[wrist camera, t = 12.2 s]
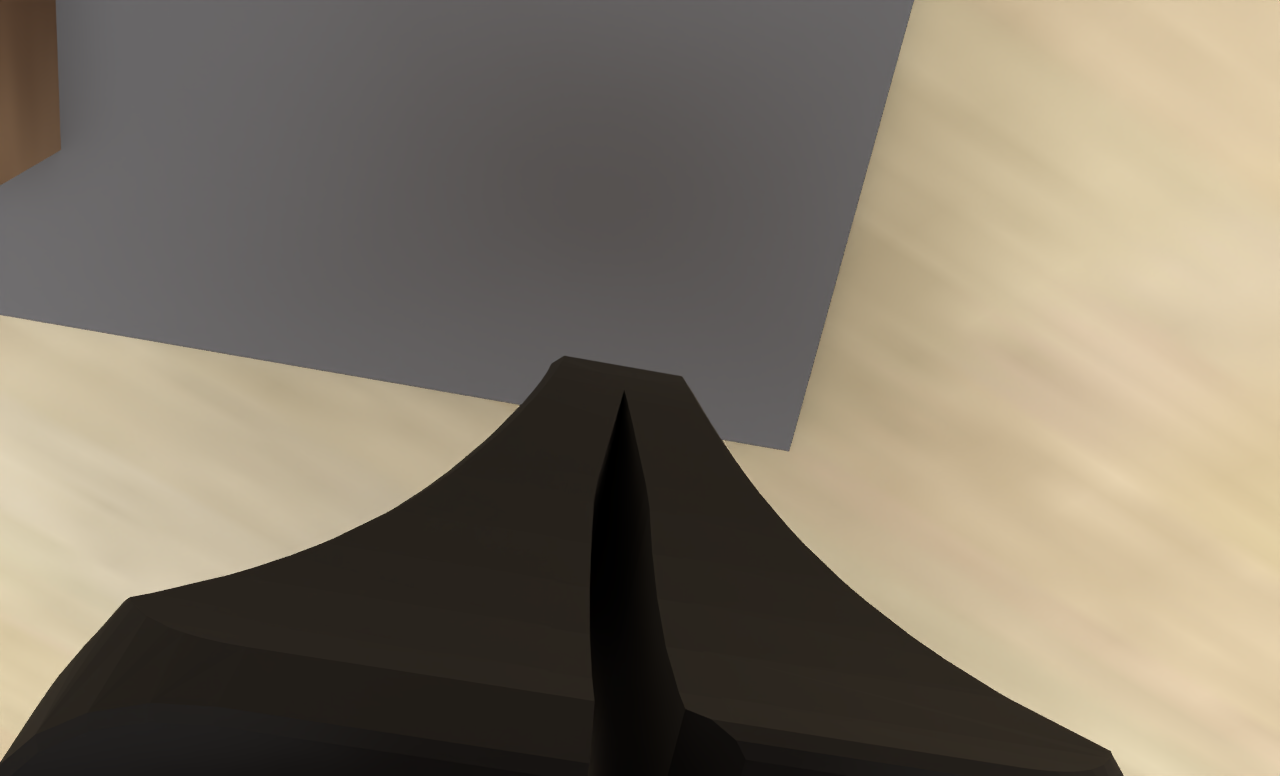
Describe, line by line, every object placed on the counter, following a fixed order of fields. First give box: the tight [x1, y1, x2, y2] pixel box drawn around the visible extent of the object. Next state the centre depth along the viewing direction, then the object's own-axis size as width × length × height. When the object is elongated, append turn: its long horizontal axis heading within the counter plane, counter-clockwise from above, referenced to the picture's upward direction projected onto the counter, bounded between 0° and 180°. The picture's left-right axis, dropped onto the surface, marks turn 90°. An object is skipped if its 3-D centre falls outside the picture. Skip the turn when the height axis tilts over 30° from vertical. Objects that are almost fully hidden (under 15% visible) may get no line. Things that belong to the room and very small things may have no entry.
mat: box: [0, 0, 914, 451], centre depth 20 cm, size 13×23×1 cm, turn 80°
